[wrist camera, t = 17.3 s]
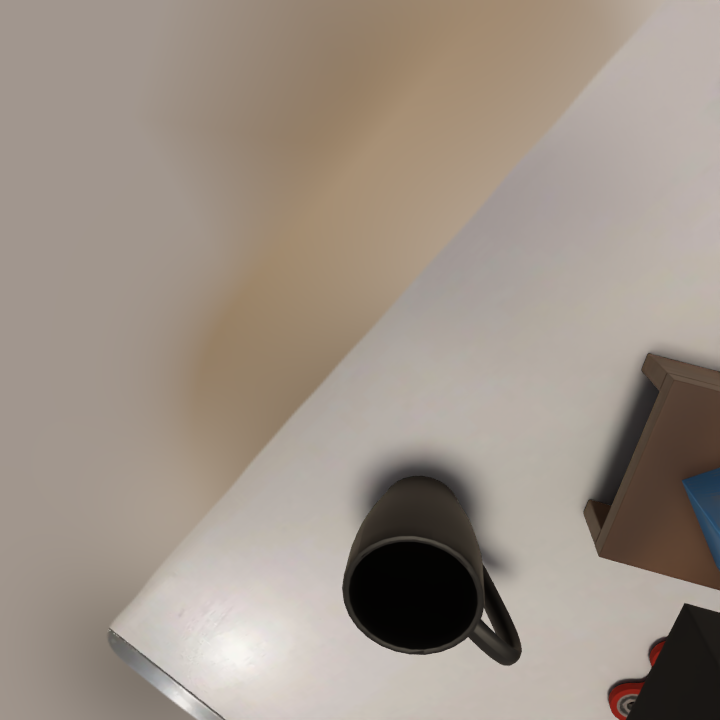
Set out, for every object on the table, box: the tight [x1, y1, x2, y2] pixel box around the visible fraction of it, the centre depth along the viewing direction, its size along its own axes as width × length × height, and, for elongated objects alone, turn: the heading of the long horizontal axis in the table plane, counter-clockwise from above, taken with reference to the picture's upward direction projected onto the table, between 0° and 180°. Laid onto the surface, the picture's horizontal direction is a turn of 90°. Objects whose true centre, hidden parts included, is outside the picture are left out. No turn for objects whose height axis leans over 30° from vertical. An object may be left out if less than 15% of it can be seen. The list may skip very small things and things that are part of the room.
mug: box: [342, 476, 522, 666], centre depth 41 cm, size 8×12×10 cm
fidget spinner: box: [609, 641, 665, 720], centre depth 46 cm, size 8×7×1 cm
